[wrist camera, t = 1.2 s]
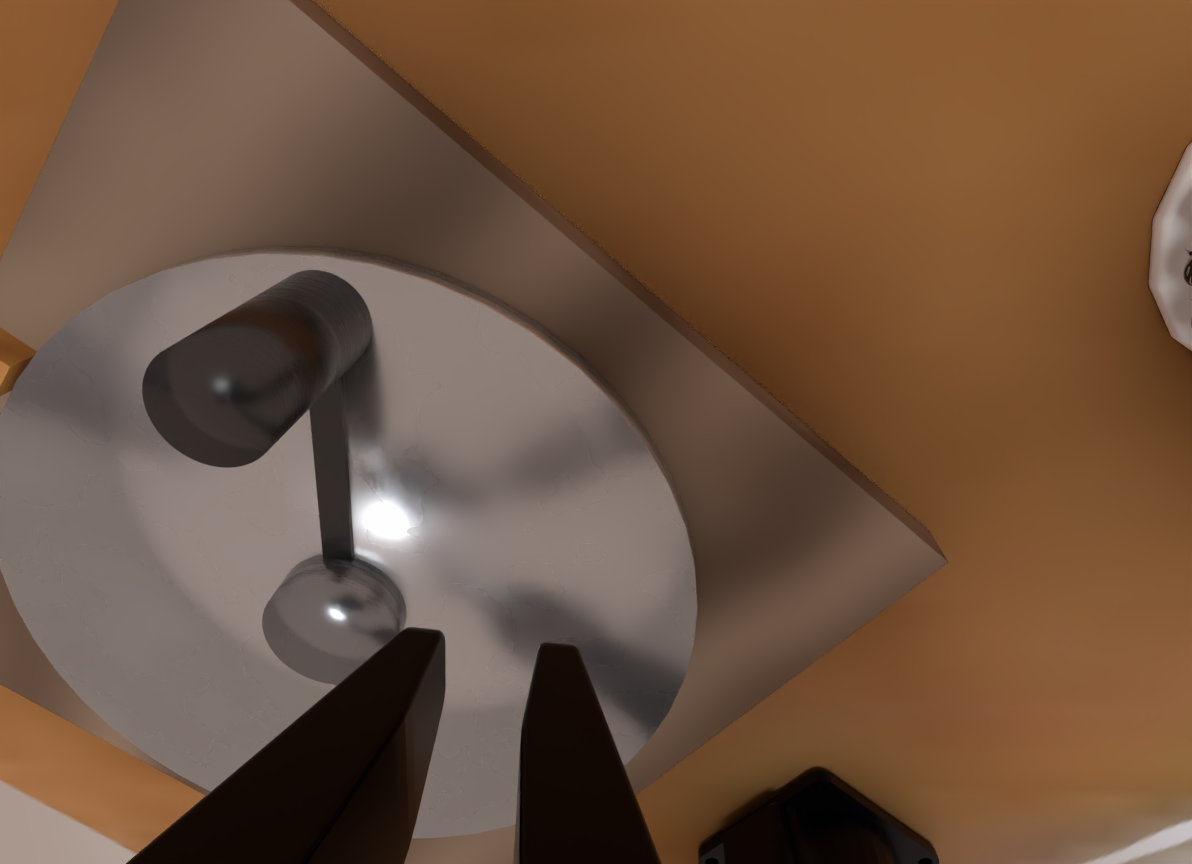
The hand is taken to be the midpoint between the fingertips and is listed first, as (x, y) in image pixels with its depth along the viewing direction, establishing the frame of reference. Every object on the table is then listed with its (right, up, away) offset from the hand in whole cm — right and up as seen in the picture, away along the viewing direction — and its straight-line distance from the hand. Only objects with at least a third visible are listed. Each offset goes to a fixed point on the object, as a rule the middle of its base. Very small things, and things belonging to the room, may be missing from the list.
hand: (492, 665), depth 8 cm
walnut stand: (-6, -1, +16) cm, 17 cm away
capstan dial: (-6, -2, +14) cm, 15 cm away
